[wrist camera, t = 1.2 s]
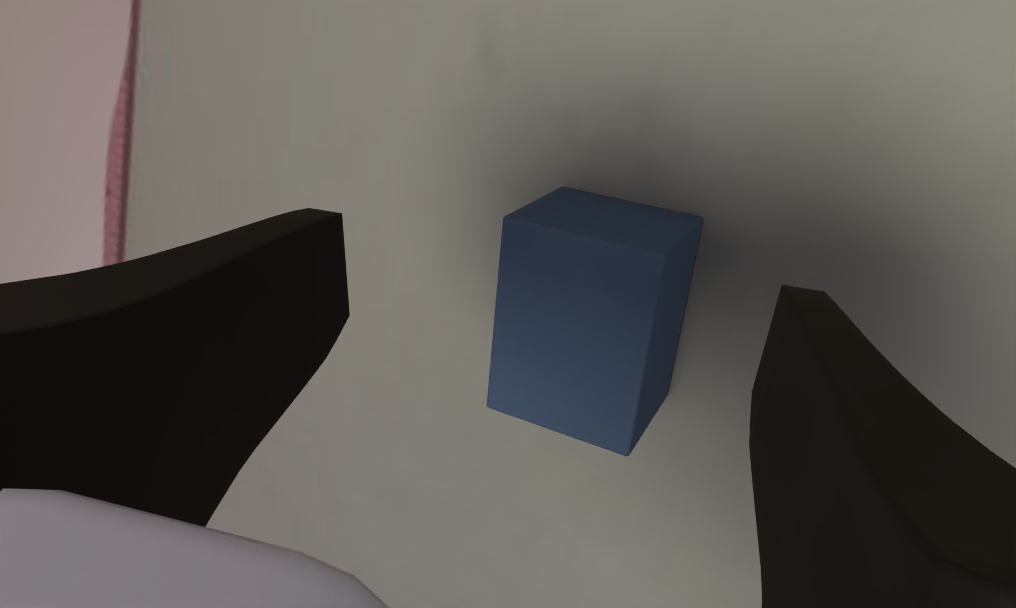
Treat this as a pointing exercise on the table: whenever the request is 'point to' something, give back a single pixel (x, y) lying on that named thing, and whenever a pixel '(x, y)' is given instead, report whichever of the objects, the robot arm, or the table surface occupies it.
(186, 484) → the robot arm
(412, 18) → the table surface
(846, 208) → the table surface
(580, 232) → the blue rectangular block
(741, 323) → the table surface
